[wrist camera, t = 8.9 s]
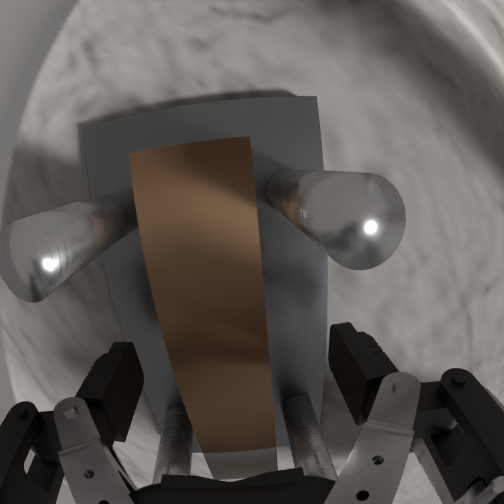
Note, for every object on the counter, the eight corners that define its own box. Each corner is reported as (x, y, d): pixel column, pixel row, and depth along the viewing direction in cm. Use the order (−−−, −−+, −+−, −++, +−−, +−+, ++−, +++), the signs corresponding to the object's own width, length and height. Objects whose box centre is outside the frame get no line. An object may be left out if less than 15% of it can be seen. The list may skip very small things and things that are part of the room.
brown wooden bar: (157, 157, 11) (129, 153, 7) (243, 145, 11) (249, 135, 8) (214, 435, 15) (214, 479, 12) (270, 430, 16) (278, 474, 12)
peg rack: (308, 102, 12) (409, 31, 4) (314, 426, 17) (345, 521, 10) (95, 130, 11) (-32, 107, 3) (174, 439, 17) (163, 536, 9)
